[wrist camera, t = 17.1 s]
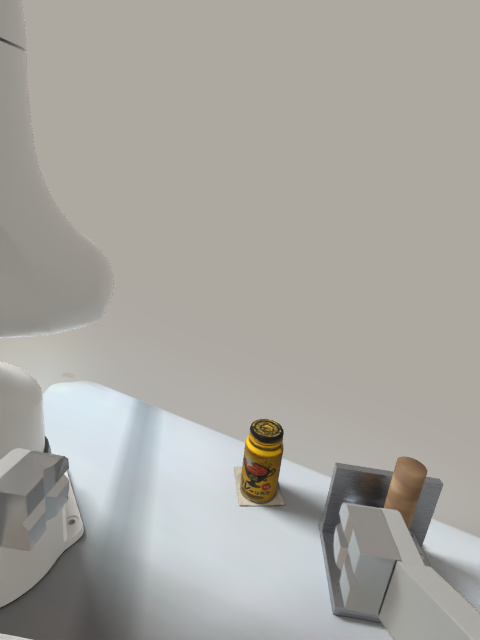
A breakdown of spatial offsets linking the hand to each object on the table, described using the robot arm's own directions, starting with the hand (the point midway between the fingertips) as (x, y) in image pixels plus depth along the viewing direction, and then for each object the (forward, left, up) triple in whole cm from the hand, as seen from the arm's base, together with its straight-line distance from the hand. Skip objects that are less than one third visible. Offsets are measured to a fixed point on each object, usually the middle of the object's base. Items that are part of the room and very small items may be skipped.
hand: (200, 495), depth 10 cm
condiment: (-31, +24, -34) cm, 52 cm away
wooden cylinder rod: (-12, +31, -33) cm, 47 cm away
